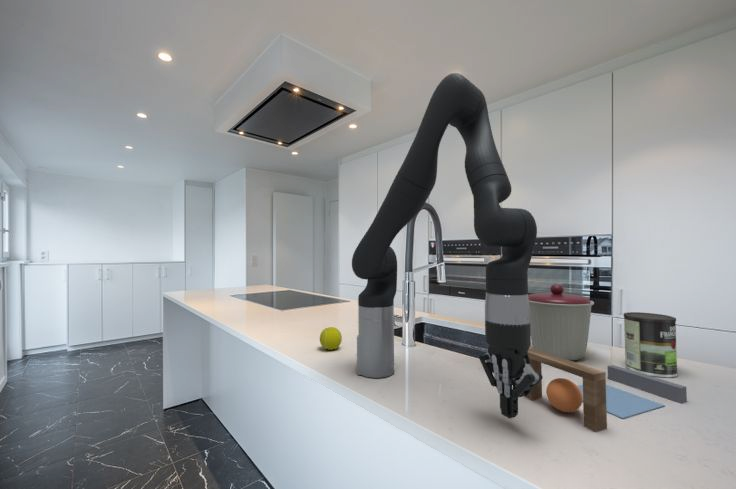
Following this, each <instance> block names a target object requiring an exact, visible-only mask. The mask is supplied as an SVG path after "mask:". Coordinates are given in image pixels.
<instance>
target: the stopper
mask: <svg viewBox="0 0 736 489" xmlns="http://www.w3.org/2000/svg"><path fill="white" fill-rule="evenodd" d="M607 379H608V380H611V381H613V382H617V383H620V384H623V385H626V386H629V387H630V388H631V387H632V388H635V389H637V390H641V391H644V392H645V393H646V392H647V393H650V394H652V395H656V396H658V397H662V398H664V399H667V400H670V401H674V402H676V403H678V404H683V403H687V402H688V401H687V400H688V398H687V397H688V396H687V394H688V393H687V386H685V385H682V384H679V383H675V382H672V381H668V380H665V379H663V378H662V379H661V378H660V377H655V376H649V375H645V374H642V373H638V372H635V371H632V370H629V369H628V368H626V367H625V368H624V367H622V366H617V365H616V364H615V365H614V364H611V365H607Z"/></svg>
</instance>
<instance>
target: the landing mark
mask: <svg viewBox="0 0 736 489" xmlns="http://www.w3.org/2000/svg"><path fill="white" fill-rule="evenodd" d="M577 386H578V388H579V389H580V391H581V393H582V398H583V384H579V385H577ZM582 403H583V400H582ZM664 407H666V405H665V404H662V403H659V402H656V401H654V400H651V399H649V398H645V397H644V396H643V397H642V396H640V395H636V394H634V393H632V392H628V391H625V390H622V389H620V388H617V387H614V386H612V385H609V384H606V408H607V414H609V415H613V416H615V417H617V418H619V419H621V420H624V419H627V418H630V417H635V416H638V415H640V414H644V413H648V412H651V411H654V410H657V409H661V408H664Z"/></svg>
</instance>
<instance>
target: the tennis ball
mask: <svg viewBox="0 0 736 489" xmlns="http://www.w3.org/2000/svg"><path fill="white" fill-rule="evenodd" d="M342 337H343V336H342V334H341V331H340V330H339V329H338V328H336V327H333V326H331V327H330V326H329V327H326V328H324V329H323V330H322V331H321V332H320V336H319V342H320V345H321V346H322V348H324V349H325V350H327V349H328V351H333V349H334V350H336V349H337V348H339V347H340V345H341V344H342V340H343V338H342Z"/></svg>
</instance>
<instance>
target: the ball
mask: <svg viewBox="0 0 736 489" xmlns="http://www.w3.org/2000/svg"><path fill="white" fill-rule="evenodd" d="M578 386H579V385H577V384H576V383H575V382H574V381H571V380H570V379H567V378H563V377H557V378H554V379H552V380H551V381H550V382H549V383H548V384H547V387H546V392H545V394H546V397H547V400H548V401H549V403H550V404H551V405H552V406H553V407H554V408H555V409H557V410H558V411H560V412H563V413H573V412H575V411H577V410H579V409H580V408H581V406H582V405H583V402H582V400H583V398H582V393H581V391H580V389H579V388H578Z"/></svg>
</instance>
